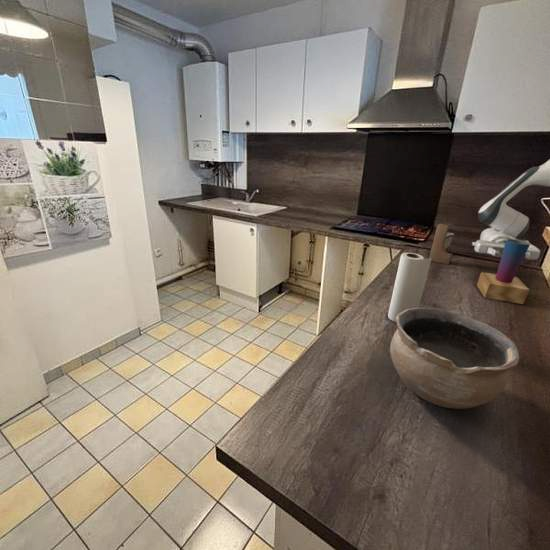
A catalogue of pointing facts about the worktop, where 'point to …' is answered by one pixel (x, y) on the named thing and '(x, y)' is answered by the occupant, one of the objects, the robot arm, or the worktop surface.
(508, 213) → the robot arm
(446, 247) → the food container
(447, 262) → the wooden block
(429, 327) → the ceramic bowl
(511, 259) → the cup
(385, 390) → the worktop surface
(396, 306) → the paper towel roll
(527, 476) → the worktop surface
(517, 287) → the riser
